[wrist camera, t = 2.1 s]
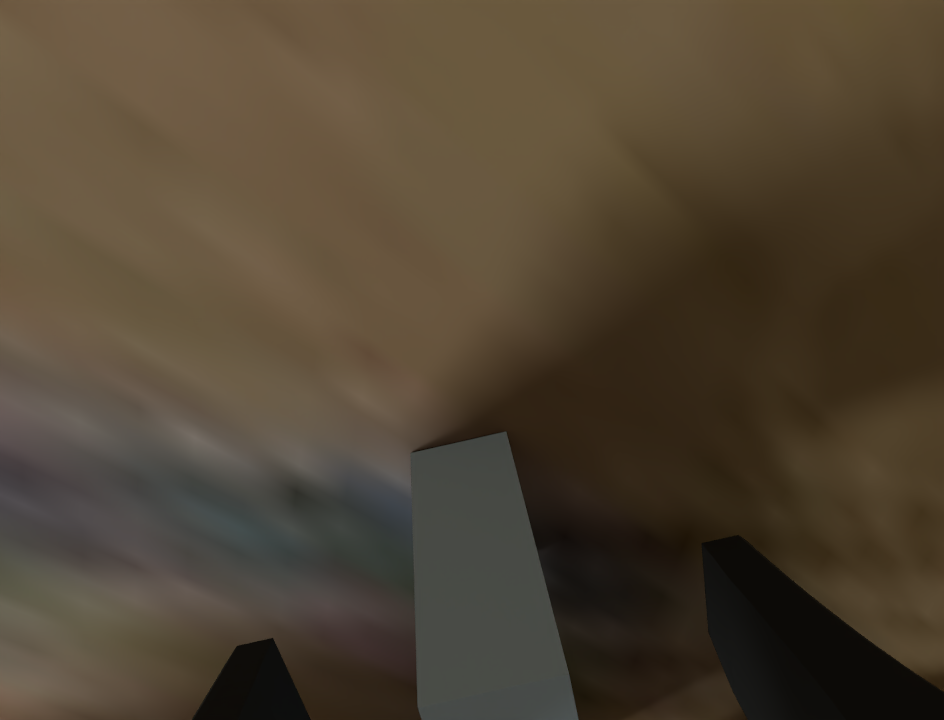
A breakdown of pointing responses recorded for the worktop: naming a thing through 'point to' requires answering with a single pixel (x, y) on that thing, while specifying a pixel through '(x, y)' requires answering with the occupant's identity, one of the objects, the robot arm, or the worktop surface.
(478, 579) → the grey notched plate
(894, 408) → the worktop surface
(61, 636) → the worktop surface
